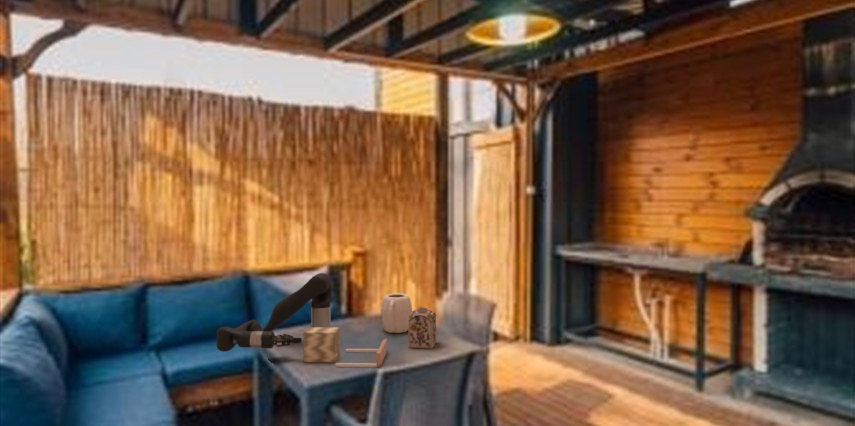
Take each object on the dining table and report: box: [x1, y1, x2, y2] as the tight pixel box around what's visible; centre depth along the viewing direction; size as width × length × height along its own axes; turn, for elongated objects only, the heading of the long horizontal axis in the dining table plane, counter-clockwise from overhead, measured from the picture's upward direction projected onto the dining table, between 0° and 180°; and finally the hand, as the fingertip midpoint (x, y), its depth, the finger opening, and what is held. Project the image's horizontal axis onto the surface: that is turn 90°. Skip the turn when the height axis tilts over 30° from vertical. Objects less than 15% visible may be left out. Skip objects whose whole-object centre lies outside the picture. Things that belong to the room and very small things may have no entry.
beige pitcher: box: [380, 290, 413, 334], centre depth 320 cm, size 16×27×19 cm, turn 168°
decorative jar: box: [407, 306, 437, 349], centre depth 291 cm, size 12×12×18 cm
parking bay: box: [335, 338, 388, 368], centre depth 271 cm, size 19×23×6 cm
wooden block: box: [302, 326, 341, 363], centre depth 271 cm, size 14×9×13 cm, turn 86°
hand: (301, 340), depth 271 cm, fingers closed
